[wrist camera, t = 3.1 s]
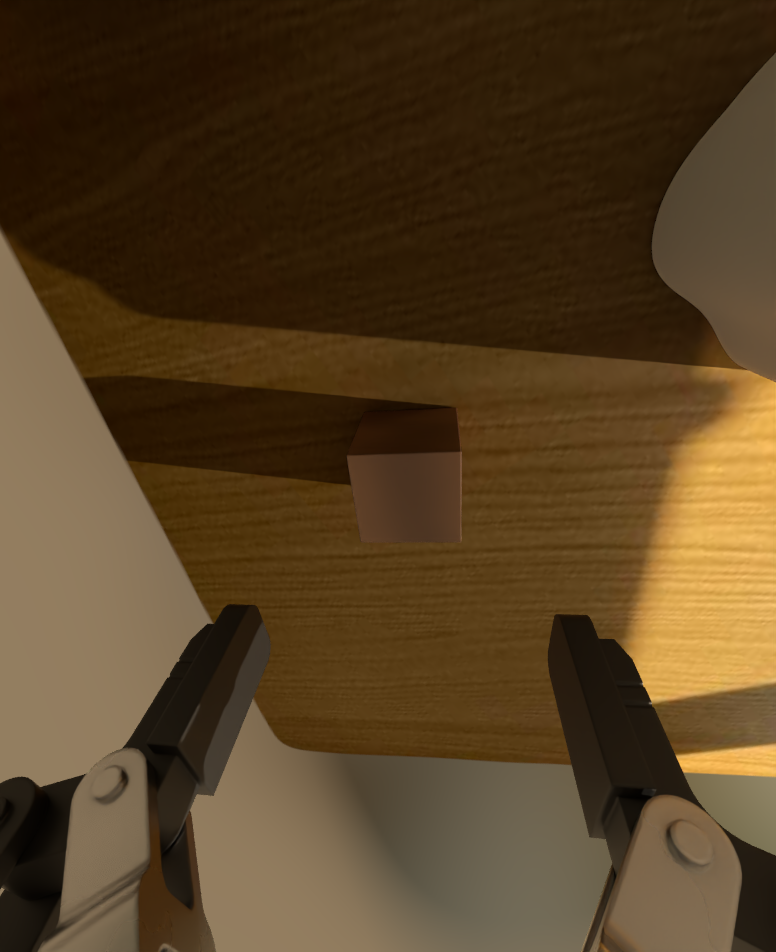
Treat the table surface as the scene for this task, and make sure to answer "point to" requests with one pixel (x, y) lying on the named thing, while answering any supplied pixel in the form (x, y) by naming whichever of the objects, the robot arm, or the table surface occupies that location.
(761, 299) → the lumpy-topped squat cylinder
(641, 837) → the robot arm
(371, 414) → the block
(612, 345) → the table surface
